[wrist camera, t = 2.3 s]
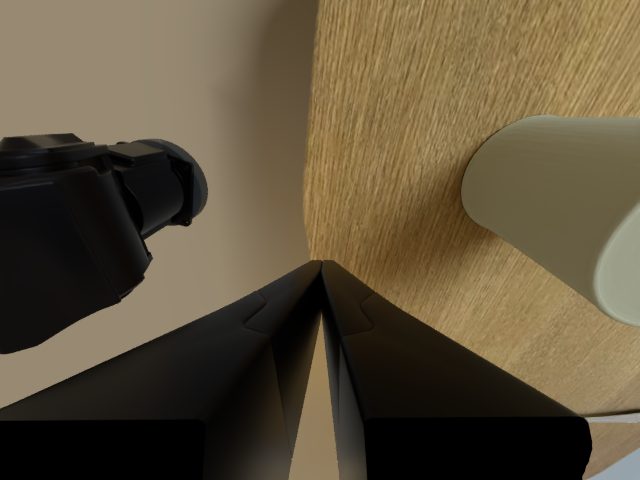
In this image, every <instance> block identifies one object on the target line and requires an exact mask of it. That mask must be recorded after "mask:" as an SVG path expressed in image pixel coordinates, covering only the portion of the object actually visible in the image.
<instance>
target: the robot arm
mask: <svg viewBox="0 0 640 480" xmlns="http://www.w3.org/2000/svg"><path fill="white" fill-rule="evenodd" d="M186 164H187V165H188V166H189V169H188V168H187V167H186ZM193 188H194V165H193V163H192V162H191V161H189V160H185V159H182V158H179V157H175V156H172V155H169V153H168V152H167V151H166V150H163V149H160V148H156V147H153V146H149V145H146V144H143V143H139V142H134V143H128V142H118V143H117V144H116V145H109V146H107V145H95V144H94V142H83V141H82V140H81V139H79V138H78V137H76V136H75V135H74V134H72V133H68V134H48V135H30V136H17V137H4V138H3V139H2V140H1V142H0V354H10V353H14V352H17V351H21V350H24V349H28V348H31V347H35V346H38V345H39V344H41V343H43V342H44V341H46V340H48V339H49V338H51V337H52V336H54V335H55V334H57V333H59V332H60V331H62V330H63V329H65V328H67V327H68V326H70V325H72V324H73V323H75V322H77V321H79V320H81V319H83V318H85V317H87V316H89V315H91V314H93V313H95V312H97V311H99V310H102V309H104V308H107V307H110V306H112V305H115V304H118V303H119V302H121V299H123V298H124V297H126V296H127V295H128V294H129V293H131V292H132V290H133V289H134V288H135V287H137V286H138V285H139V284H140V283H141V282H142V281H143V279H144V278H145V277H144V273H145V271H146V270H147V268H148V266H149V264H150V262H151V260H152V259H153V258H152V255H151V253H150V252H148V249H147V247H146V244H145V242H144V240H145V239H146V238H148V237H149V236H151V235H153V234H154V233H156V232H157V231H159V230H160V229H162V228H164V227H165V226H167V225H168V224H170V223H173V224H177V225H181V226H184V227H187V226H189V225H191V224H192V213H193ZM185 220H186V221H187V223H186V222H185ZM321 314H322V322H323V331H324V340H325V349H326V359H327V368H328V376H329V385H330V395H331V404H332V413H333V423H334V432H335V441H336V451H337V460H338V469H339V479H340V480H582V475H583V474H584V472H585V468H586V466H587V464H588V462H589V459H590V455H591V451H592V439H591V434H590V429H589V424H588V421H587V420H586V419H585V418H583V417H582V416H580V415H578V414H577V413H575V412H573V411H572V410H570V409H568V408H567V407H565V406H563V405H562V404H560V403H558V402H556V401H555V400H553V399H551V398H550V397H548V396H546V395H545V394H543V393H541V392H540V391H538V390H536V389H535V388H533V387H531V386H529V385H528V384H526V383H524V382H523V381H521V380H519V379H518V378H516V377H514V376H513V375H511V374H509V373H508V372H506V371H504V370H502V369H501V368H499V367H497V366H496V365H494V364H492V363H491V362H489V361H487V360H486V359H484V358H482V357H481V356H479V355H477V354H475V353H474V352H472V351H470V350H469V349H467V348H465V347H464V346H462V345H460V344H459V343H457V342H455V341H454V340H452V339H450V338H448V337H447V336H445V335H443V334H442V333H440V332H438V331H437V330H435V329H433V328H432V327H430V326H428V325H427V324H425V323H423V322H421V321H420V320H418V319H416V318H415V317H413V316H411V315H410V314H408V313H406V312H405V311H403V310H402V309H400V308H398V307H397V306H395V305H394V304H392V303H391V302H389V301H388V300H386V299H385V298H384V297H382V296H381V295H380V294H378V293H377V292H375V291H374V290H372V289H371V288H370V287H368V286H367V285H366V284H364V283H363V282H362V281H360V280H359V279H358V278H356V277H355V276H354V275H352V274H351V273H350V272H348V271H347V270H346V269H344V268H343V267H342V266H340V265H339V264H338V263H336V262H335V261H333V260H324V261H323V262H322V261H321V260H311V261H310V262H308V263H306V264H304V265H302V266H301V267H299V268H297V269H295V270H293V271H291V272H290V273H288V274H286V275H284V276H283V277H281V278H279V279H277V280H275V281H273V282H272V283H270V284H268V285H266V286H264V287H263V288H261V289H259V290H257V291H254V292H253V293H251V294H249V295H247V296H245V297H243V298H241V299H240V300H238V301H236V302H234V303H232V304H229V305H228V306H225V307H223V308H221V309H219V310H217V311H215V312H212V313H210V314H208V315H206V316H204V317H202V318H199V319H197V320H195V321H193V322H191V323H188V324H186V325H184V326H182V327H180V328H177V329H175V330H173V331H171V332H169V333H166V334H164V335H162V336H160V337H158V338H155V339H153V340H151V341H149V342H147V343H144V344H142V345H140V346H138V347H136V348H133V349H131V350H129V351H127V352H125V353H122V354H120V355H118V356H116V357H114V358H111V359H109V360H107V361H105V362H103V363H100V364H98V365H96V366H94V367H92V368H90V369H87V370H85V371H83V372H81V373H79V374H76V375H74V376H72V377H70V378H68V379H65V380H63V381H61V382H59V383H57V384H54V385H52V386H50V387H48V388H46V389H43V390H41V391H39V392H37V393H35V394H33V395H31V396H28V397H26V398H24V399H22V400H19V401H17V402H15V403H13V404H10V405H8V406H6V407H3V408H1V409H0V480H288V478H289V472H290V466H291V461H292V460H291V459H292V457H293V452H294V447H295V442H296V437H297V432H298V428H299V423H300V418H301V413H302V408H303V403H304V398H305V393H306V389H307V384H308V379H309V374H310V369H311V364H312V359H313V354H314V350H315V344H316V340H317V335H318V330H319V325H320V320H321Z"/></svg>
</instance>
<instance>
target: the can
mask: <svg viewBox="0 0 640 480" xmlns="http://www.w3.org/2000/svg"><path fill="white" fill-rule="evenodd" d="M461 198H462V203H463V206H464V209H465V211H466V212H467V214H468V215H469V217H470V218H471V219H472V220H473V221H474V222H475V223H477V224H478V225H480V226H482V227H484V228H487V229H489V230H490V231H492V232H493V233H495V234H496V235H498V236H499V237H501V238H502V239H504V240H505V241H507V242H508V243H509V244H511V245H512V246H514V247H515V248H517V249H518V250H519V251H521V252H522V253H524V254H525V255H526V256H528V257H529V258H531V259H532V260H534V261H535V262H536V263H538V264H539V265H541V266H542V267H543V268H545V269H546V270H547V271H549V272H550V273H552V274H553V275H554V276H556V277H557V278H559V279H560V280H561V281H563V282H564V283H565V284H567V285H568V286H570V287H571V288H572V289H574V290H575V291H576V292H578V293H579V294H581V295H582V296H583V297H585V298H586V299H587V300H588V301H590V302H591V303H592V304H594V305H595V306H596V307H597V308H598V309H599V310H600V311H601V312H602V313H604V314H605V315H606V316H608V317H610V318H611V319H613V320H615V321H618V322H620V323H623V324H626V325H630V326H635V327H640V117H561V116H556V115H537V116H531V117H527V118H524V119H521V120H518V121H516V122H514V123H512V124H510V125H508V126H506V127H504V128H503V129H501V130H499V131H498V132H497V133H495V134H494V135H493V136H491V137H490V138H489V139H488V140H487V141H486V142H485V143H484V144H483V145H482V146H481V147H480V148H479V150H478V151H477V152H476V153H475V155H474V156H473V158H472V159H471V161H470V162H469V165H468V167H467V169H466V171H465V174H464V177H463V180H462V186H461Z"/></svg>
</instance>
